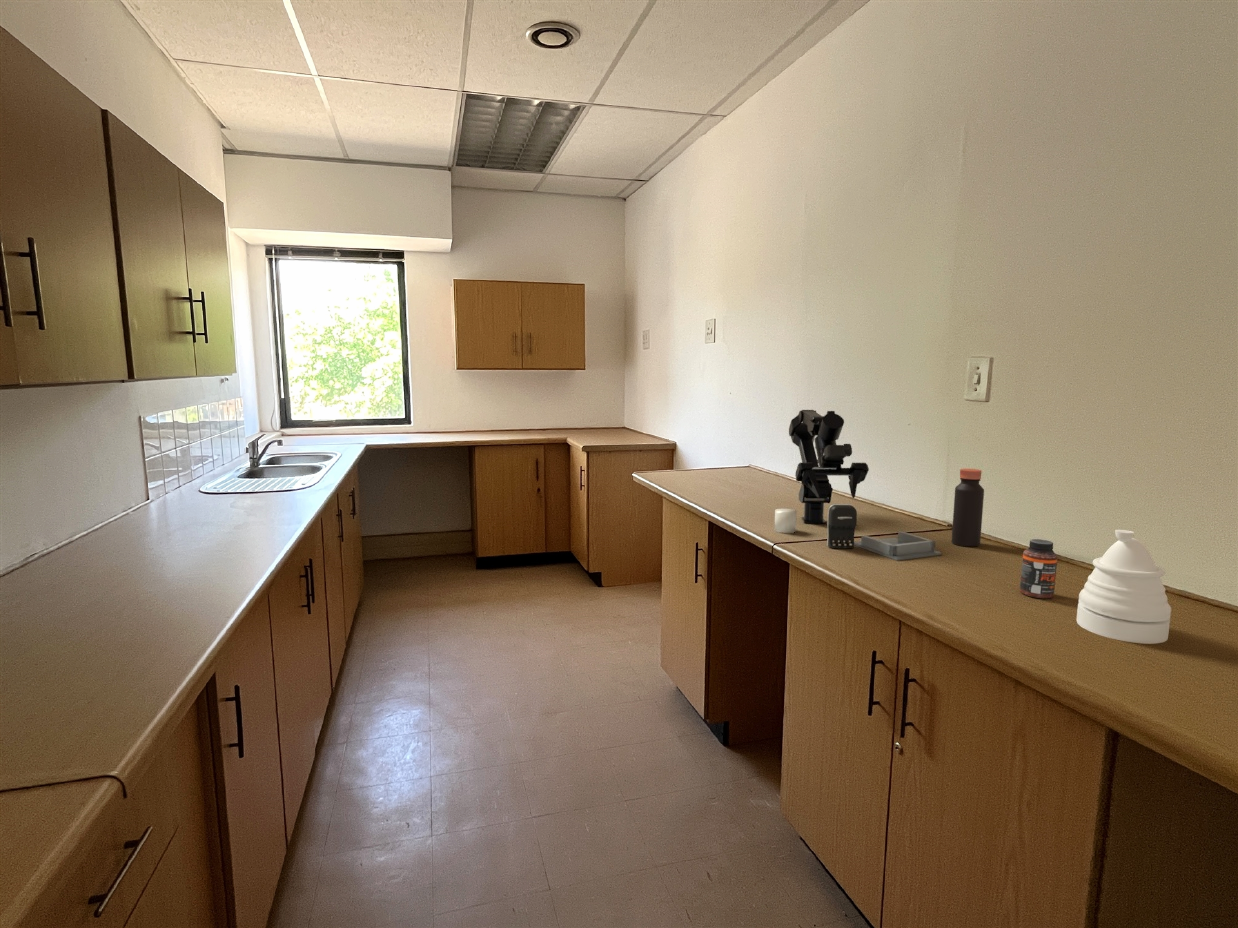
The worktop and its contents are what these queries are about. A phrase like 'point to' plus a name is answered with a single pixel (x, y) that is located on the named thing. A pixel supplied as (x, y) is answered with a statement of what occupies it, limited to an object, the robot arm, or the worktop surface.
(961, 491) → the vinegar
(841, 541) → the battery charger
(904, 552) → the tray
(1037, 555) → the supplement bottle
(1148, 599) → the honey pot
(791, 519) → the white rounded cube
